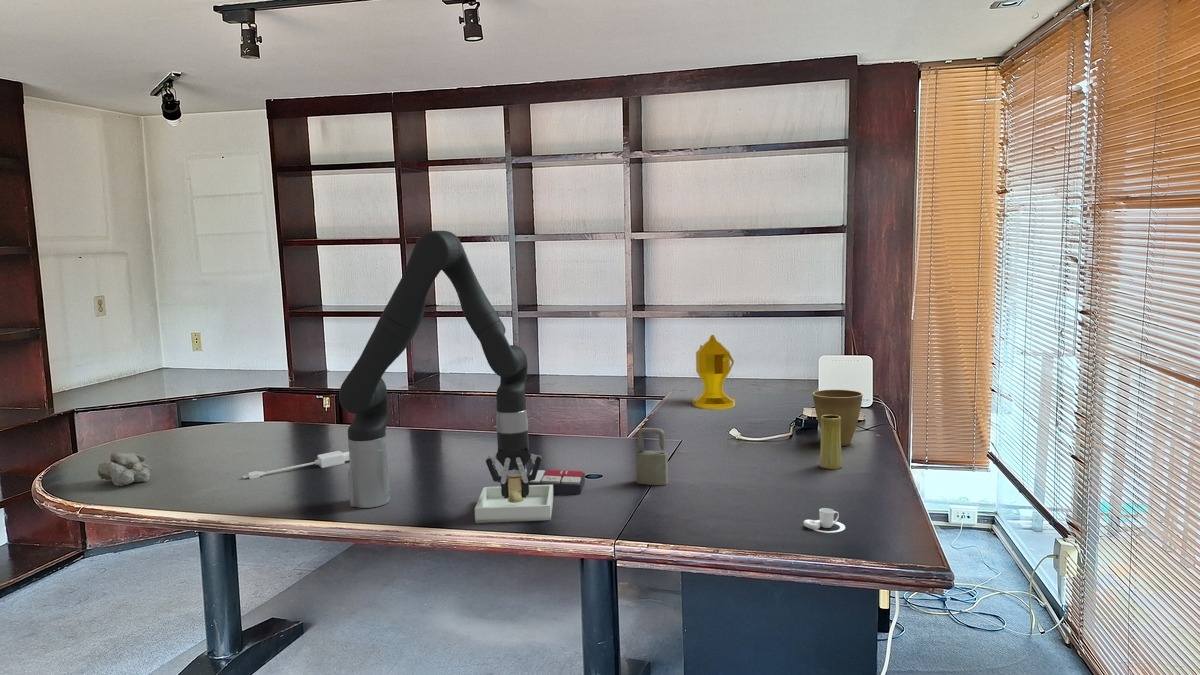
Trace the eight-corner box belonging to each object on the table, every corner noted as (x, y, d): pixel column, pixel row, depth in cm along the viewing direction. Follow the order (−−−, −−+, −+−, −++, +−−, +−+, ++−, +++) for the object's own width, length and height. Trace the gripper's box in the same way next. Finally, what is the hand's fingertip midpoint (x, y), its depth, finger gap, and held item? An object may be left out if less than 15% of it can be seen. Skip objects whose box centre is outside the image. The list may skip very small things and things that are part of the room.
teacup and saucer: (802, 532, 170) (802, 514, 170) (806, 520, 178) (806, 502, 177) (843, 536, 167) (843, 518, 167) (846, 523, 174) (846, 506, 174)
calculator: (580, 482, 200) (523, 479, 201) (580, 498, 201) (523, 495, 202) (585, 470, 211) (530, 467, 212) (584, 485, 211) (530, 483, 213)
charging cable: (242, 480, 227) (241, 469, 227) (354, 457, 244) (353, 447, 244) (245, 485, 223) (243, 473, 223) (358, 461, 240) (357, 450, 239)
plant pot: (872, 443, 241) (872, 393, 239) (841, 451, 233) (841, 399, 231) (833, 435, 253) (833, 386, 252) (802, 442, 245) (802, 392, 243)
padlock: (665, 486, 205) (664, 430, 204) (635, 483, 208) (634, 428, 206) (669, 481, 209) (667, 427, 207) (640, 479, 212) (638, 425, 210)
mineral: (121, 486, 214) (135, 450, 217) (79, 477, 220) (94, 443, 224) (157, 495, 225) (171, 461, 228) (117, 486, 231) (130, 453, 234)
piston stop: (506, 503, 188) (505, 478, 187) (508, 497, 192) (507, 474, 191) (523, 502, 188) (522, 478, 187) (524, 497, 192) (523, 473, 191)
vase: (846, 465, 218) (846, 415, 217) (835, 470, 214) (836, 419, 212) (825, 462, 222) (825, 413, 221) (815, 467, 218) (815, 417, 216)
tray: (475, 523, 182) (474, 508, 181) (484, 500, 198) (483, 487, 198) (550, 520, 182) (550, 505, 181) (553, 497, 198) (552, 484, 198)
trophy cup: (716, 397, 324) (715, 330, 321) (750, 407, 302) (750, 335, 299) (680, 401, 317) (678, 333, 314) (712, 412, 295) (711, 339, 292)
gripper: (480, 433, 184) (484, 503, 186) (540, 430, 184) (544, 501, 186) (484, 426, 191) (488, 493, 193) (542, 423, 192) (545, 491, 193)
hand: (515, 496), depth 190 cm, fingers closed on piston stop, 4 cm apart
